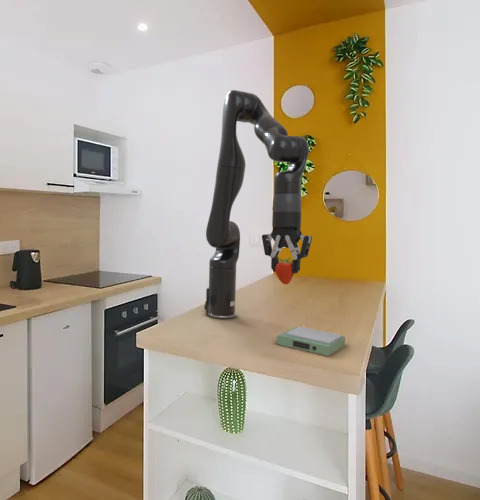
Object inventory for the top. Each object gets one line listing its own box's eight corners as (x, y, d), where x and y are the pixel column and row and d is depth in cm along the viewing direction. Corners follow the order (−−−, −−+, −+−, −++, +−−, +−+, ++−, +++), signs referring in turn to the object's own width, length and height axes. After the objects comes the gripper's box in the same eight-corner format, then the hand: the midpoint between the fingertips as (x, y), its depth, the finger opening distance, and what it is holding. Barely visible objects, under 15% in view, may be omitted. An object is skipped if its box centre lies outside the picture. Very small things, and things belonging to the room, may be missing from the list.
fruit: (294, 286, 112) (295, 256, 112) (274, 285, 114) (275, 256, 113) (294, 283, 117) (294, 255, 117) (274, 282, 119) (275, 254, 118)
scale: (276, 344, 115) (276, 333, 114) (295, 335, 124) (296, 324, 123) (327, 356, 105) (328, 344, 105) (344, 345, 114) (345, 334, 114)
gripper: (318, 210, 112) (316, 273, 113) (269, 210, 122) (268, 268, 123) (306, 210, 106) (304, 276, 108) (256, 210, 116) (255, 271, 117)
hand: (285, 272), depth 115 cm, fingers closed on fruit, 5 cm apart
